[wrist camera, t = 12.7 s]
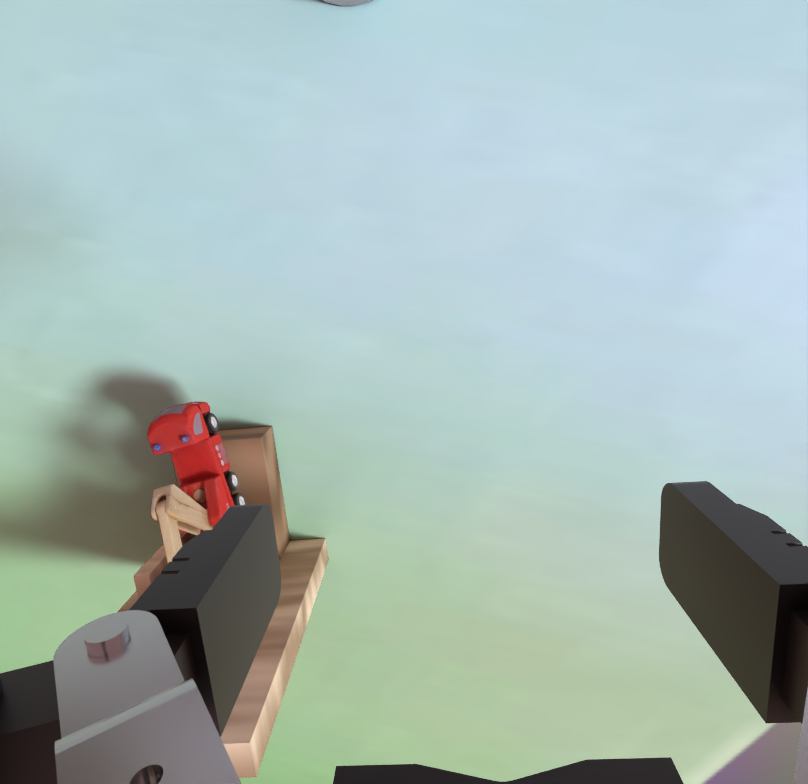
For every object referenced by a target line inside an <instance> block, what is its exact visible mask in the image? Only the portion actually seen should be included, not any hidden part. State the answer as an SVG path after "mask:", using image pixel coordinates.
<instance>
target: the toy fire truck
mask: <svg viewBox="0 0 808 784" xmlns="http://www.w3.org/2000/svg"><path fill="white" fill-rule="evenodd" d="M217 430H218V421H217V418H216V417H215V415H214V414H212V413H210V406H209V405H208V403H206V402H189V403H185V404H179V405H175V406H172V407H169V408H167V409H166V410H164V411H162V412H161V413H160V414H159V415H158V416H156V418H155V419H154V420H153V421H152V423H151V424H150V426H149V428H148V440H149V443H150V446H151V448H152V451H153V454H154V455H160V454H163V453H167V452H170V454H171V457H172V460H173V463H174V466H175V468H176V471H177V474H178V476H179V479H180V482H181V485H180V486H178V487H177V486H176V485H174V484H170V485H166V486H163V487H159V488H156V489H154V491H153V498H152V506H151V515H152V518H153V519H154V520H156V521H157V522H159V524H160V529H161V534H162V539H163V544H164V549H165V553H166V558H167V563H169V562H172V558H173V557H174V556H175V555H176V553H177V552H178V551H179V550H180V549H181V547H182V542H181V538H180V533H179V530H180V532H181V533H191V534H194V535H199V534H200V533H202V532H203V531H205V530H212V529H213V528H214V526H215V525H216V524H217V523H218V521H219V520H220V519H221V517H222V516H223V515H224V514H225V512H226V511H227V510H228V508H229V507H230V506H235V505H246V501H245V498H244V496H243V494H241V493H234V494H232V492H231V491H235V490H236V489H238V487H239V481H238V477H237V475H236V474H235V473H234V472H232V471H229V469H230V468H231V466H230V463H229V460H228V457H227V454H226V451H225V449H224V445H223V443H222V440H221V437H220V435H219V434H218V433H216V432H217ZM225 471H228V472H226V473H225Z"/></svg>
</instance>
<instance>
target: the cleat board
mask: <svg viewBox="0 0 808 784" xmlns="http://www.w3.org/2000/svg"><path fill="white" fill-rule="evenodd" d="M216 433H218V434H219V435H220V437H221V440H222V443H223V445H224V449H225V451H226V454H227V457H228V460H229V463H230V466H231V468H230V469H229V471H232V472H234V473H235V474H236V475H237V477H238V481H239V487H238V489H236V490H235V491H231V492H232V494H234V493H241V494H243V496H244V498H245V501H246V505H253V504H268V505H269V506H270V508H271V511H272V515H273V521H274V528H275V535H276V542H277V549H278V556H279V563H280V570H281V591H280V597H279V601H278V604H277V607H276V609H275V611H274V614H273V616H272V618H271V621H270V623H269V625H268V628H267V630H266V632H265V635H264V637H263V639H262V642H261V644H260V646H259V649H258V651H257V653H256V656H255V658H254V660H253V663H252V665H251V668H250V670H249V672H248V675H247V677H246V679H245V682H244V684H243V686H242V689H241V691H240V693H239V696H238V698H237V700H236V703H235V705H234V707H233V710H232V712H231V714H230V717H229V719H228V721H227V724H226V726H225V729H224V731H223V733H222V736H221V737H220V738H221V740H222V742H223V744H224V747H225V749H226V751H227V753H228V755H229V758H230V760H231V762H232V764H233V766H234V768H235V771H236V773H237V775H238V777H239V778H243V777H257V774H258V771H259V768H260V765H261V762H262V759H263V756H264V753H265V749H266V746H267V743H268V740H269V737H270V734H271V731H272V728H273V725H274V722H275V719H276V716H277V713H278V710H279V707H280V704H281V701H282V698H283V695H284V692H285V689H286V686H287V683H288V680H289V677H290V674H291V671H292V668H293V665H294V662H295V659H296V656H297V653H298V650H299V647H300V644H301V641H302V638H303V635H304V632H305V629H306V626H307V623H308V620H309V617H310V614H311V611H312V608H313V605H314V602H315V599H316V596H317V593H318V590H319V587H320V584H321V581H322V578H323V575H324V572H325V569H326V566H327V563H328V554H327V547H326V539H325V538H324V539H310V540H295V541H290V538H289V532H288V526H287V519H286V513H285V506H284V500H283V493H282V487H281V481H280V474H279V468H278V461H277V455H276V448H275V442H274V435H273V429H272V426H268V427H255V428H243V429H231V430H218V431H217V432H216ZM172 461H173V460H172ZM173 466H174V463H173ZM174 471H175V476H176V481H177V486H180V485H181V482H180V479H179V476H178V474H177V471H176V468H175V466H174ZM226 472H228V471H225V473H226ZM179 533H180V538H181V542H182V546H183V545H184V544H185V543H186V542H188V541H190V540H191V539H193V538H194V537H196V536H197V535H194V534H191V533H181V532H180V530H179ZM167 564H168V563H167V558H166V553H165V549H164V544H163V545H162V546H161V547H160V548H159V549H158V550H157V551H156V552H155V553H154V555H153V556H152V557H151V558H150V559H149V560H148V561H147V562H146V563H145V564H144V565H143V566H142V567H141V568H140V569H139V571H138V572H137V573H136V574H135V575H134V581H135V585H136V590H137V591H136V592H135V593H134V594H133V595H132V596H131V597H130V598H129V600H128V601H127V602H126V603H125V604H124V605H123V606H122V607H121V609H120V610H119V611H118V612H122V611H129V609H130V608H131V607H132V606H133V605H134V604H135V602H136V601H137V600H138V599H139V598H140V596H141V595H142V594H143V593H144V592H145V590H146V589H147V588H148V587H149V586H150V584H151V583H152V582H153V581H154V580H155V578H156V577H157V576H158V575H161V571H162V570H163V569H164V568H165V567H166V565H167Z"/></svg>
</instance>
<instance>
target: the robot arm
mask: <svg viewBox="0 0 808 784" xmlns="http://www.w3.org/2000/svg"><path fill="white" fill-rule="evenodd" d="M323 1H325V2H327V3H331V4H336V5H340V6H356V5H360V4H364V3H368V2H371V1H372V0H323ZM659 562H660V568H661V572H662V576H663V579H664V581H665V583H666V585H667V587H668V589H669V590H670V592H671V593H672V594H673V596H674V597H675V598H676V600H677V601H678V603H679V604H680V605H681V607H682V608H683V609H684V611H685V612H686V614H687V615H688V616H689V618H690V619H691V620H692V622H693V623H694V625H695V626H696V627H697V629H698V630H699V631H700V633H701V634H702V636H703V637H704V638H705V640H706V641H707V643H708V644H709V645H710V647H711V648H712V649H713V651H714V652H715V654H716V655H717V656H718V658H719V659H720V660H721V662H722V663H723V665H724V666H725V667H726V669H727V670H728V671H729V673H730V674H731V676H732V677H733V678H734V680H735V681H736V682H737V684H738V685H739V687H740V688H741V689H742V691H743V692H744V693H745V695H746V696H747V698H748V699H749V700H750V702H751V703H752V705H753V706H754V707H755V709H756V710H757V711H758V713H759V714H760V716H761V717H762V718H763V720H764V721H765V722H766V723H789V722H801V723H802V730H801V736H800V743H799V750H798V756H797V763H796V770H795V777H794V784H808V547H807V546H802V542H800V541H799V540H798V539H796V538H795V537H794V536H792V535H791V534H790V533H788V534H787V533H786V530H785V529H783V528H782V527H781V526H779V525H778V524H777V523H776V522H774V521H773V520H772V519H770V518H769V517H768V516H766V515H764V514H761V513H759V512H757V511H754V510H752V509H750V508H748V507H745V506H743V505H741V504H736V503H734V502H733V501H732V500H731V499H729V498H728V497H727V496H726V495H724V494H723V493H722V492H721V491H719V490H718V489H717V488H716V487H714V486H713V485H712V484H711V483H709V482H707V481H701V482H682V483H667V484H666V485H665V486H664V488H663V490H662V496H661V518H660V543H659ZM280 591H281V570H280V563H279V556H278V549H277V542H276V535H275V528H274V521H273V515H272V511H271V508H270V506H269V505H268V504H253V505H235V506H230V507H229V508H228V510H227V511H226V512H225V514H224V515H223V516H222V517H221V519H220V520H219V521H218V523H217V524H216V525H215V526H214V528H213V529H212V530H205V531H203V532H202V533H200V534H199V535H197V536H196V537H194V538H193V539H191V540H190V541H188V542H186V543H185V544H184V545H183V546H182V547H181V549H180V550H179V551H178V552H177V553H176V555H175V556H174V557H173V558H172V562H169V563H168V564H167V565H166V567H165V568H164V569H163V570H162V571H161V575H158V576H157V577H156V578H155V580H154V581H153V582H152V583H151V584H150V586H149V587H148V588H147V589H146V590H145V592H144V593H143V594H142V595H141V596H140V598H139V599H138V600H137V601H136V602H135V604H134V605H133V606H132V607H131V608H130V609H129V611H122V612H117V613H113V614H109V615H106V616H103V617H101V618H98V619H96V620H94V621H92V622H90V623H88V624H86V625H84V626H82V627H81V628H79V629H77V630H76V631H75V632H73V633H72V634H71V635H69V636H68V637H67V638H66V639H65V640H64V641H63V642H62V643H61V644H60V646H59V647H58V649H57V650H56V652H55V655H54V660H53V661H49V662H45V663H41V664H37V665H33V666H29V667H25V668H21V669H17V670H13V671H9V672H5V673H1V674H0V784H241V782H240V779H239V777H238V775H237V773H236V771H235V768H234V766H233V764H232V762H231V760H230V758H229V755H228V753H227V751H226V749H225V747H224V744H223V742H222V740H221V738H220V737H221V736H222V733H223V731H224V729H225V726H226V724H227V721H228V719H229V717H230V714H231V712H232V710H233V707H234V705H235V703H236V700H237V698H238V696H239V693H240V691H241V689H242V686H243V684H244V682H245V679H246V677H247V675H248V672H249V670H250V668H251V665H252V663H253V660H254V658H255V656H256V653H257V651H258V649H259V646H260V644H261V642H262V639H263V637H264V635H265V632H266V630H267V628H268V625H269V623H270V621H271V618H272V616H273V614H274V611H275V609H276V607H277V604H278V601H279V597H280ZM333 784H683V782H682V780H681V778H680V775H679V773H678V771H677V769H676V767H675V765H674V763H673V761H672V759H671V758H637V759H597V760H584V761H580V762H577V763H573V764H570V765H566V766H563V767H559V768H556V769H552V770H548V771H545V772H541V773H538V774H534V775H531V776H527V777H524V778H520V779H517V780H513V781H508V782H498V781H492V780H487V779H483V778H478V777H473V776H469V775H464V774H460V773H455V772H450V771H446V770H441V769H436V768H432V767H427V766H423V765H418V764H402V765H363V766H336V770H335V776H334V782H333Z"/></svg>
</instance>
